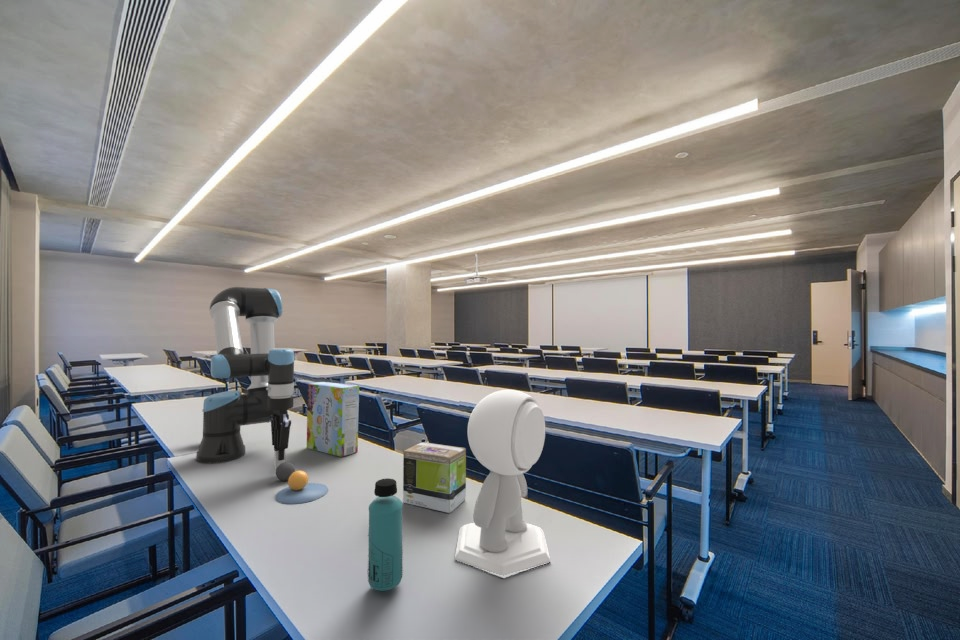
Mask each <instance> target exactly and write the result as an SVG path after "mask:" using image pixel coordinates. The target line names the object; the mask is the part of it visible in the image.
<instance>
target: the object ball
mask: <svg viewBox="0 0 960 640" xmlns="http://www.w3.org/2000/svg"><path fill="white" fill-rule="evenodd" d="M307 483H309V475H308V474H307V472H305V471H304V470H295V472H293V473H292V474H291V475H290V477H289V479H288V480H287V485H288V487H290V488H291V489H292V490H296V491H297V490H301V489H303V488H304V487H305V486H306V485H307Z"/></svg>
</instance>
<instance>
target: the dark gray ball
mask: <svg viewBox="0 0 960 640" xmlns="http://www.w3.org/2000/svg"><path fill="white" fill-rule="evenodd" d="M295 471H296V468H295V465H294V464H293V463H292V462H289V461H285V462H284V463H281V464H280V465H279V466H278V467H277V469H276V471H275V476H276V478H277V479H278V480H279V481H283V482H284V481H288V479H289V477H290V475H291V474H292V473H293V472H295Z"/></svg>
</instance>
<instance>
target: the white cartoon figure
mask: <svg viewBox="0 0 960 640" xmlns="http://www.w3.org/2000/svg"><path fill="white" fill-rule="evenodd" d="M466 429H467V433H466V434H467V440H468V444H469V447H470V450H471V452H472V454H473V456H474V457H475V458H476V460H477V461H478V462H479V463H480V464H481V465H482V466H483V467H484V468H486V469H488V470H489V473H488V475H487V476H486V478H485V479H484V481H483V482H482V486H481V488H480V490H479V493H478V496H477V498H476V500H475V505H474V507H473V508H474V509H473V513H472V514H473V515H472V516H473V522H470V523H467V524H463V525H462V526H461V527H460V528H459V531H458V537H457V543H456V550H455V554H454V555H455V556H454V560H455V561H456V560H457V562H459V561H460V562H459V563H461V562H463V563H462V564H464V563H465V564H464V565H466V564H468V565H467V566H469V565H472V566H474V567H478V568H480V569H484V570H487V571H489V572H493V573H496V574H499V575H503V576H504V575H507V574H510V573H513V572H517V571H520V570H524V569H528V568H531V567H535V566H538V565H541V564H544V563H548V562H550V563H551V557H550V553H549V552H550V551H549V549H548V548H549V547H548V545H547V540H546V536H545V532H544V530H543V529H542V528H541V527H540V526H537V525H534V524H531V523H528V522H525V520H523V519H524V518H523V508H522V497H527V494H528V485H527V480H526V478H525V475H524V474H526V473H527V472H529V470H530V469H531V468H532V466H533V465H535V464H536V463H537V462H538V461H539V459H540V457H541V454H542V451H543V448H544V446H545V441H546V440H545V439H546V419H545V415H544V413H543V411H542V409H541V407H540V406H539V403H538V402H537V400H536V399H535V398H534V397H533V396H532V395H530V394H528V393H526V392H523V391H520V390H516V389H500V390H496V391H494V392H492V393H491V392H490V393H489V394H487V395H486V396H484V397H483V398H482V399H481V400H479V402H477V404H476V405H475V406H474V408H473V410H472V411H471V413H470V416H469V419H468V423H467V428H466ZM474 567H473V568H474Z"/></svg>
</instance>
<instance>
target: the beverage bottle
mask: <svg viewBox="0 0 960 640" xmlns="http://www.w3.org/2000/svg"><path fill="white" fill-rule="evenodd" d="M397 492H398V487H397V481H396V479H393V478H381V479H379V480H376V482H375V484H374V492H373V493H374V495H375V496H376V497H375V498H374V499H373V501H372V502H371V503H370V504H369V505H368V529H367V532H368V533H367V534H368V535H367V536H368V555H367V558H368V560H367V579H368V580H367V581H368V585H369V586H370V588H372V590H375V591H381V592H383V591H389V590H392V589H394V588H396V587H398V586H399V585H400V583H401V582H402V578H403V576H404V575H403V569H404V566H403V560H404V559H403V558H404V556H403V546H404V545H403V506H404V504H403V502H402V501H403V500H401V499H399V498H398V497H397V496H395V495H397Z"/></svg>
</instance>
